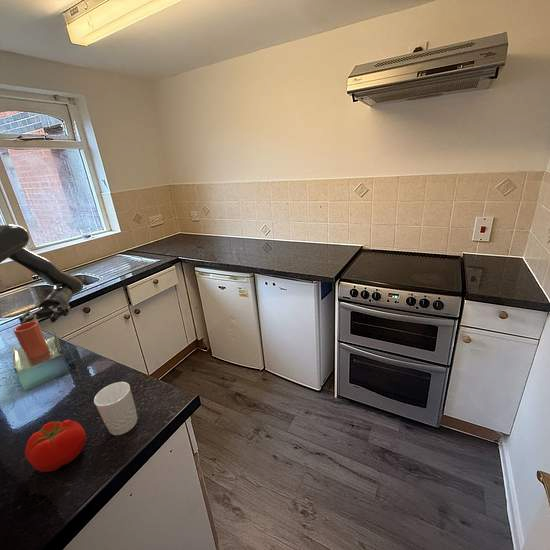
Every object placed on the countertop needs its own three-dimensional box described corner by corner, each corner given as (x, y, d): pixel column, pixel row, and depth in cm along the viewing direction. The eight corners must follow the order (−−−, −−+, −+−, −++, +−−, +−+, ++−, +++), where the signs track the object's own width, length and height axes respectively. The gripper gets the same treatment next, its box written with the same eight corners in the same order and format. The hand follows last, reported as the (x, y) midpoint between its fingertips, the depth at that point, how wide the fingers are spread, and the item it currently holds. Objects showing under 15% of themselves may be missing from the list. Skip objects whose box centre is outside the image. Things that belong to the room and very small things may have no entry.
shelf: (22, 368, 102) (12, 347, 99) (63, 352, 109) (55, 332, 106) (24, 391, 91) (13, 368, 88) (70, 371, 98) (61, 350, 95)
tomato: (93, 460, 67) (80, 431, 63) (32, 492, 61) (15, 463, 58) (88, 429, 75) (77, 403, 72) (35, 455, 69) (20, 427, 66)
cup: (22, 360, 94) (9, 333, 90) (31, 349, 100) (19, 323, 96) (45, 355, 96) (33, 328, 92) (52, 345, 101) (41, 319, 98)
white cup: (99, 432, 74) (86, 400, 70) (126, 408, 80) (115, 378, 77) (121, 442, 70) (108, 409, 67) (147, 416, 77) (136, 386, 73)
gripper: (29, 298, 112) (8, 318, 98) (72, 290, 116) (57, 308, 101) (37, 316, 115) (17, 337, 100) (78, 308, 118) (65, 327, 104)
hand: (37, 323), depth 101 cm, fingers open, 8 cm apart
